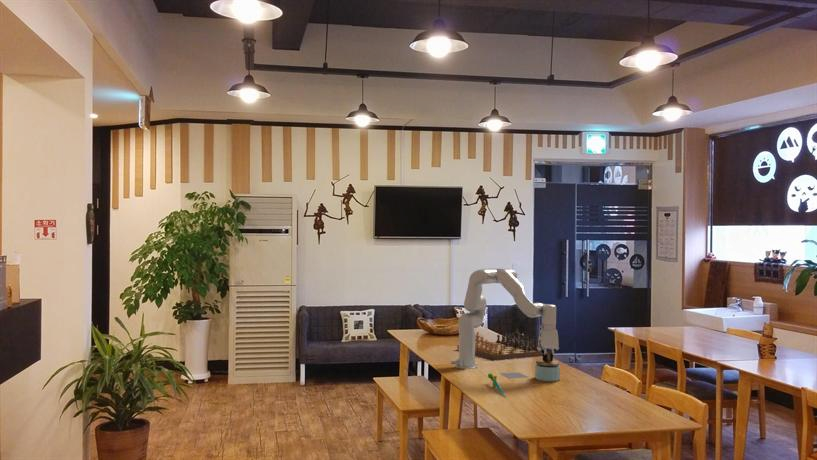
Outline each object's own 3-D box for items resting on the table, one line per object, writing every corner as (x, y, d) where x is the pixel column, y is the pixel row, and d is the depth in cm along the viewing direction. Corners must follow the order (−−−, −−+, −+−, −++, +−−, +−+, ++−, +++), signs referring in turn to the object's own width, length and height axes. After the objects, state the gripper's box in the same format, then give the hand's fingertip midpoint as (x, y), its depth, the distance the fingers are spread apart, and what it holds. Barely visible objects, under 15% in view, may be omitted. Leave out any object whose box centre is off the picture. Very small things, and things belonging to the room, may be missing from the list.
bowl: (542, 383, 359) (542, 368, 359) (530, 377, 372) (531, 363, 371) (564, 382, 363) (564, 367, 363) (551, 376, 375) (552, 362, 375)
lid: (543, 366, 359) (543, 355, 359) (531, 361, 371) (532, 350, 371) (563, 365, 363) (564, 354, 363) (552, 361, 375) (552, 350, 375)
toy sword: (492, 369, 356) (508, 391, 326) (491, 380, 356) (507, 403, 327) (487, 369, 355) (503, 391, 326) (487, 380, 356) (502, 403, 327)
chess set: (494, 361, 419) (495, 337, 419) (457, 350, 453) (458, 328, 453) (543, 356, 439) (544, 333, 439) (504, 346, 474) (505, 325, 474)
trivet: (508, 379, 367) (508, 378, 367) (499, 374, 378) (499, 373, 378) (528, 378, 371) (528, 377, 371) (518, 373, 382) (518, 372, 382)
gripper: (538, 328, 361) (537, 363, 361) (565, 328, 366) (564, 362, 366) (531, 326, 368) (530, 360, 368) (558, 326, 373) (557, 359, 373)
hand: (547, 361), depth 367 cm, fingers closed on lid, 2 cm apart
